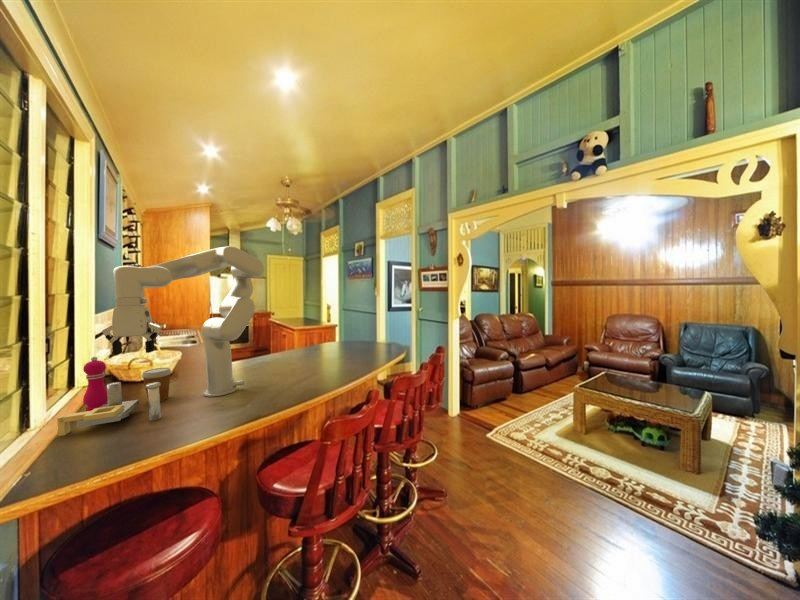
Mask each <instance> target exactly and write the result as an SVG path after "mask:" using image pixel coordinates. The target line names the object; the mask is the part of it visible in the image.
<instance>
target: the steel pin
mask: <svg viewBox="0 0 800 600" xmlns="http://www.w3.org/2000/svg"><path fill="white" fill-rule="evenodd" d="M159 386H160V382H154V383H149V384H146V388H147V389H148V397H147V400H148V401H147V402H148V414H149V415H148V416H149V421H150V422H155V421H158V420H161V418H162V416H161V415H162V414H161V412H162V411H161V401H160V395H159ZM146 388H145V389H146Z"/></svg>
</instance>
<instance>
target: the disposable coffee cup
mask: <svg viewBox="0 0 800 600" xmlns="http://www.w3.org/2000/svg"><path fill="white" fill-rule="evenodd" d="M172 372H173V371H172V370H171V368H170V367H157V368H152V369H147V370H143V372H142V374H141V377H142V379H143V383H144V386H145V392H146V396H147V398H148V389H147V388H146V384H149V383H154V382H160V386H159V395H160V402H163V401H166V400H168V399H169V394H170V393H169V392H170V382H171V381H170V380H171V374H172ZM165 399H166V400H165ZM162 400H163V401H162Z"/></svg>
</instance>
